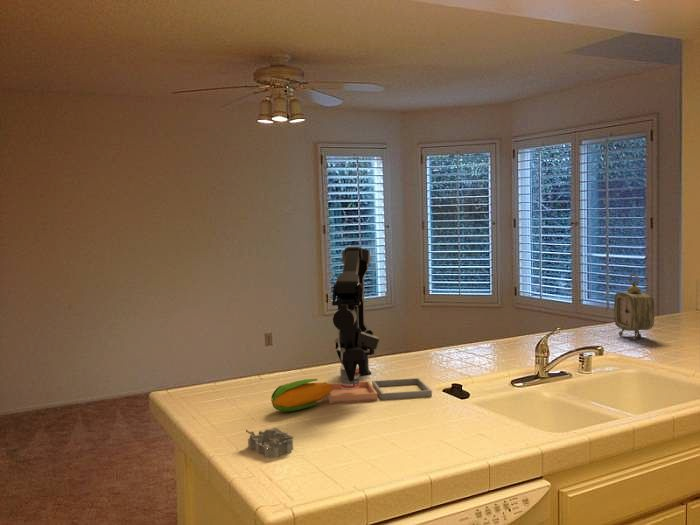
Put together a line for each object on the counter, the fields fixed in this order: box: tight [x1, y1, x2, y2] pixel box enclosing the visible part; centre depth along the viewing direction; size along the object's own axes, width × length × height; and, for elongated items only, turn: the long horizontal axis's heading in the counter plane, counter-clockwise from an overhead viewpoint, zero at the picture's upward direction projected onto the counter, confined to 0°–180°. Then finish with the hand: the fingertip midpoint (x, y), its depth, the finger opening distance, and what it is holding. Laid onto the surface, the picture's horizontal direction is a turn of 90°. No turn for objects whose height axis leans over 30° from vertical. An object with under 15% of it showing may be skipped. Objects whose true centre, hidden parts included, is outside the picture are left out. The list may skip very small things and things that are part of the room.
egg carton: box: [245, 427, 296, 458], centre depth 144 cm, size 11×8×4 cm
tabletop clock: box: [613, 274, 656, 341], centre depth 255 cm, size 14×9×25 cm, turn 6°
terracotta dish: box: [325, 380, 378, 405], centre depth 184 cm, size 13×13×2 cm
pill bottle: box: [340, 364, 360, 390], centre depth 184 cm, size 5×5×9 cm
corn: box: [270, 378, 333, 413], centre depth 174 cm, size 7×8×20 cm
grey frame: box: [371, 377, 433, 400], centre depth 188 cm, size 14×14×2 cm
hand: (349, 378), depth 184 cm, fingers closed on pill bottle, 5 cm apart
